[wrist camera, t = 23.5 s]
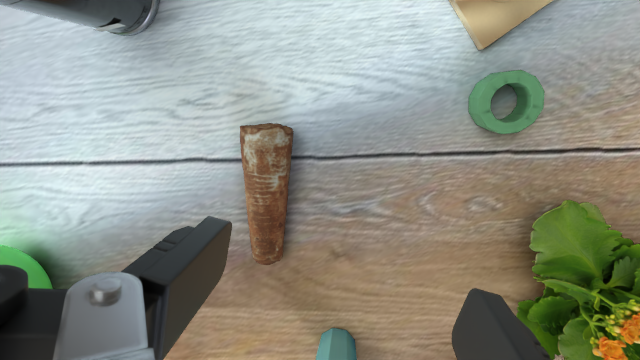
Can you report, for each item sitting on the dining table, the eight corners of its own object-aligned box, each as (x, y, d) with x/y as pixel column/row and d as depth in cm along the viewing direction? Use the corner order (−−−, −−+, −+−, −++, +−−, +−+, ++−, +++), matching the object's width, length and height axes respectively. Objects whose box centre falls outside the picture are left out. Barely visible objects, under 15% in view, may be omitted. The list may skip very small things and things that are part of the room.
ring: (458, 95, 36) (467, 96, 33) (510, 60, 35) (525, 57, 32) (486, 140, 37) (497, 145, 34) (538, 108, 36) (555, 109, 33)
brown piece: (297, 121, 39) (289, 127, 34) (288, 257, 45) (279, 280, 39) (248, 116, 40) (232, 121, 34) (245, 251, 45) (230, 273, 40)
